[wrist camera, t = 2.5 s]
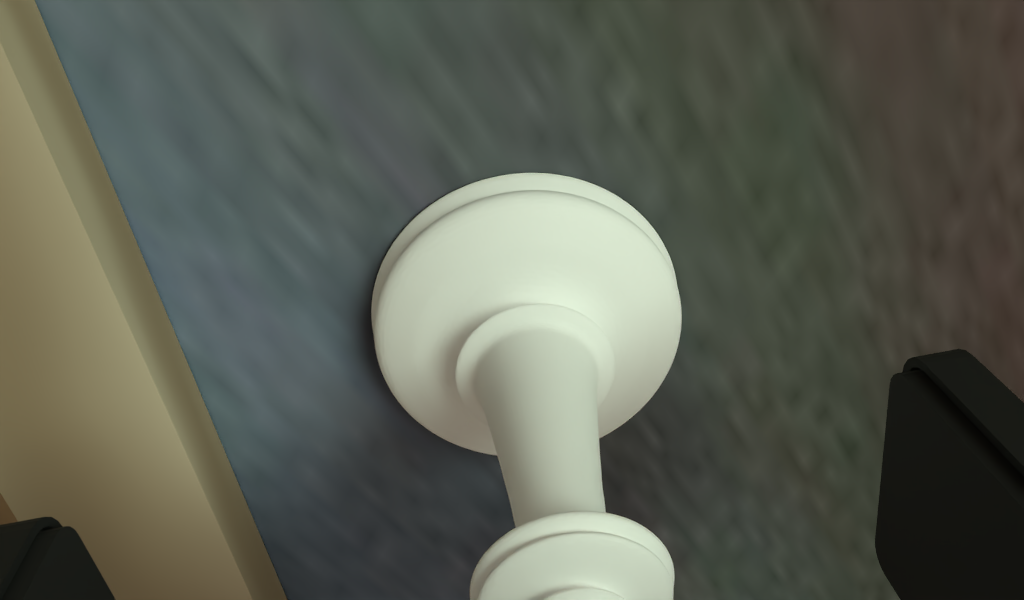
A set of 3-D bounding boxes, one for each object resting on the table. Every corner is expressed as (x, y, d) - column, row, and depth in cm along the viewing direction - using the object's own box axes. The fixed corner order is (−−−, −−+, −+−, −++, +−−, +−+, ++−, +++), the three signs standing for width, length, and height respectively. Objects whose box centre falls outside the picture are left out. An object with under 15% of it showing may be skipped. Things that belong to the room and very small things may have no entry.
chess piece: (738, 295, 14) (1262, 1130, 5) (536, 478, 15) (661, 1347, 7) (512, 103, 12) (711, 898, 3) (309, 335, 13) (63, 1280, 5)
